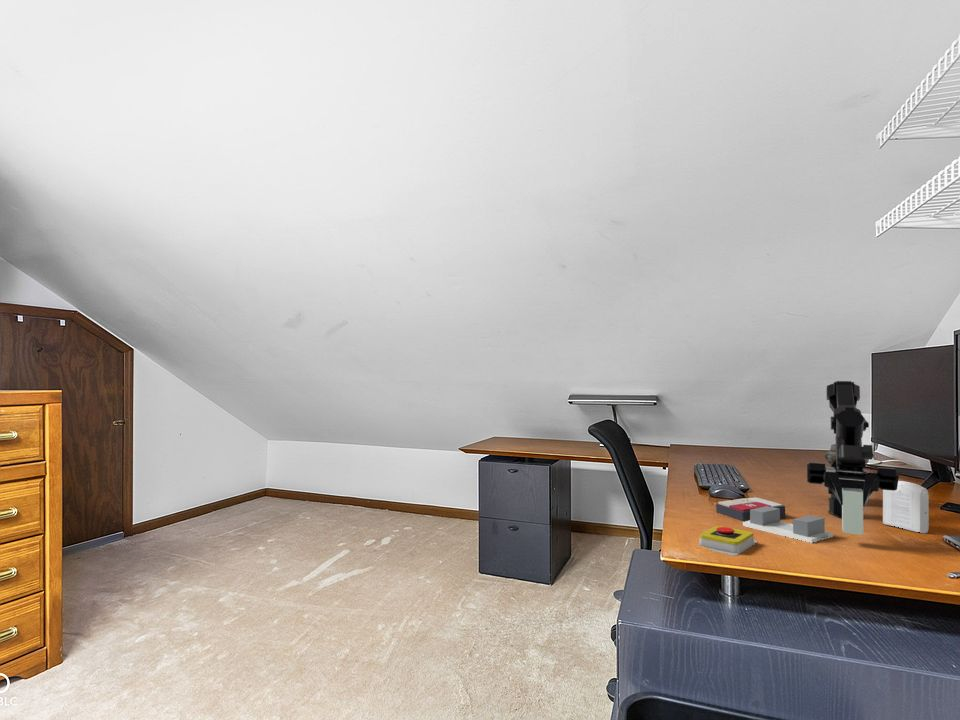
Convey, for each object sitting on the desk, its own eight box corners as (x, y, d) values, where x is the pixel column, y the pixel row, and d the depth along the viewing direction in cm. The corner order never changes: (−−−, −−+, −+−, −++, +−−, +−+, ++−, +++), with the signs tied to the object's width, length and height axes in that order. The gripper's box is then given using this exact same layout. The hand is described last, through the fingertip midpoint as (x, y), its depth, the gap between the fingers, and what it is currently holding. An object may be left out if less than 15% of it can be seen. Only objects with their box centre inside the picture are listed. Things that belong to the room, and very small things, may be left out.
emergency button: (694, 530, 133) (719, 518, 144) (695, 549, 133) (719, 536, 144) (735, 538, 127) (758, 525, 137) (736, 558, 126) (758, 543, 137)
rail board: (742, 525, 152) (742, 508, 152) (764, 520, 157) (764, 504, 157) (811, 543, 136) (811, 524, 136) (833, 537, 142) (832, 518, 142)
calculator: (715, 500, 167) (756, 495, 171) (715, 515, 167) (756, 509, 171) (742, 509, 156) (785, 503, 161) (743, 525, 156) (786, 518, 161)
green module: (842, 528, 138) (841, 487, 139) (861, 530, 136) (861, 489, 137) (843, 532, 135) (842, 490, 135) (863, 534, 133) (863, 492, 133)
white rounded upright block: (932, 532, 146) (931, 484, 147) (922, 534, 145) (921, 485, 145) (889, 522, 156) (889, 477, 156) (880, 524, 154) (879, 478, 154)
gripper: (806, 430, 144) (807, 481, 134) (897, 434, 135) (904, 489, 125) (807, 457, 151) (807, 507, 141) (893, 463, 142) (900, 517, 132)
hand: (852, 505), depth 135 cm, fingers closed on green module, 4 cm apart
